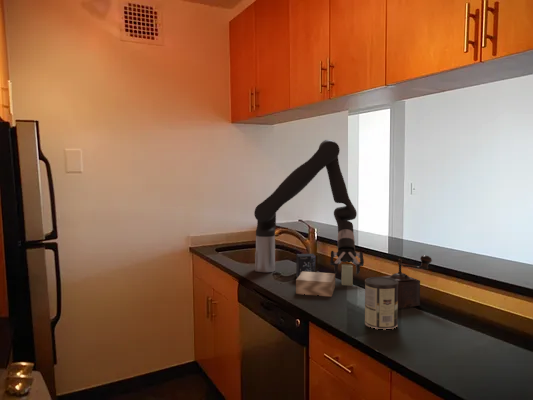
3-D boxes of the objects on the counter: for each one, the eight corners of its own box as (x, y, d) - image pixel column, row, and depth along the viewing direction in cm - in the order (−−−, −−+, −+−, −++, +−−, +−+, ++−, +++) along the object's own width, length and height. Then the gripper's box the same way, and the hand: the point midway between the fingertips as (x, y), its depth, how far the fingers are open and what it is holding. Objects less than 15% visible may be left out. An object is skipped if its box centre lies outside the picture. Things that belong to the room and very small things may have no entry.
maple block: (296, 294, 165) (296, 279, 165) (302, 285, 179) (302, 271, 178) (331, 297, 162) (331, 282, 161) (335, 287, 175) (335, 273, 175)
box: (298, 279, 186) (298, 256, 185) (296, 276, 192) (296, 253, 191) (315, 279, 187) (315, 255, 187) (312, 275, 193) (312, 253, 192)
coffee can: (379, 316, 140) (380, 275, 139) (404, 326, 131) (405, 282, 130) (357, 322, 134) (357, 279, 133) (381, 333, 126) (382, 287, 125)
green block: (341, 285, 177) (342, 266, 177) (341, 282, 182) (341, 264, 181) (352, 285, 177) (352, 266, 176) (351, 282, 181) (352, 264, 181)
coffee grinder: (398, 310, 146) (399, 259, 145) (378, 300, 156) (379, 253, 155) (433, 304, 152) (434, 256, 150) (412, 296, 162) (413, 250, 160)
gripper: (330, 236, 186) (330, 268, 176) (362, 237, 184) (365, 269, 174) (329, 246, 192) (330, 277, 181) (361, 247, 190) (363, 278, 179)
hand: (347, 273), depth 178 cm, fingers open, 8 cm apart
